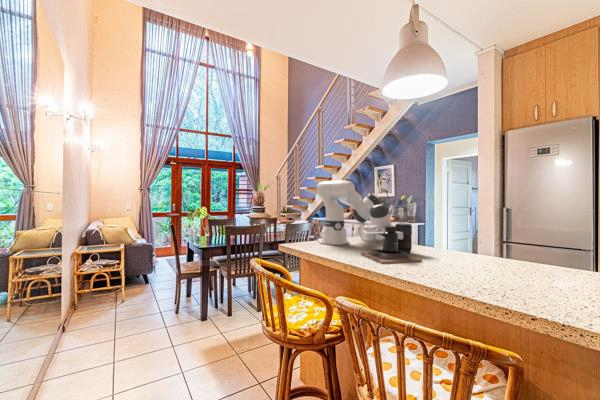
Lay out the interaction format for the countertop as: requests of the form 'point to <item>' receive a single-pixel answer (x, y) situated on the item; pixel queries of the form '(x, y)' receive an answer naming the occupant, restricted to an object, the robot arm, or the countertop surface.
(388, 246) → the supplement bottle
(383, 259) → the collar dock
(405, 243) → the camera lens
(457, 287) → the countertop surface
